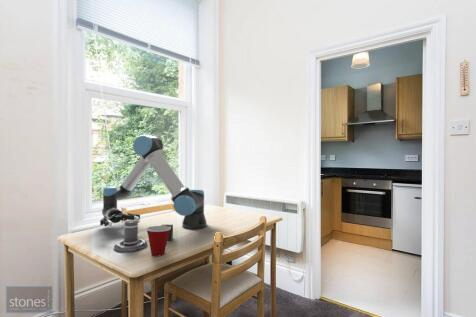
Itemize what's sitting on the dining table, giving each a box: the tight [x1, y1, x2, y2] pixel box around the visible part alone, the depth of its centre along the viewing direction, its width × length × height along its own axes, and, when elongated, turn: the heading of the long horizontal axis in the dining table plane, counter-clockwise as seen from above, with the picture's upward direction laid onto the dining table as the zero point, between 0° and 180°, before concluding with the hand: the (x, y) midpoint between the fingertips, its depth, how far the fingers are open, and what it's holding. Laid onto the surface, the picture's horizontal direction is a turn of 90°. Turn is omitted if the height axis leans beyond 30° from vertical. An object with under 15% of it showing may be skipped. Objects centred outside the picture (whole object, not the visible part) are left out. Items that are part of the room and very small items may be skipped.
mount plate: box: [113, 238, 148, 253], centre depth 125 cm, size 15×15×2 cm
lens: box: [123, 220, 139, 246], centre depth 125 cm, size 6×6×11 cm
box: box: [160, 224, 174, 242], centre depth 136 cm, size 6×6×7 cm
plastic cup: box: [145, 225, 171, 257], centre depth 117 cm, size 11×11×12 cm
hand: (125, 222), depth 133 cm, fingers open, 13 cm apart
